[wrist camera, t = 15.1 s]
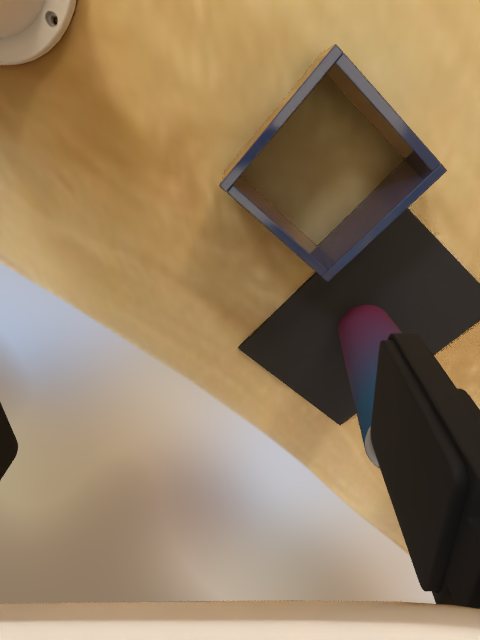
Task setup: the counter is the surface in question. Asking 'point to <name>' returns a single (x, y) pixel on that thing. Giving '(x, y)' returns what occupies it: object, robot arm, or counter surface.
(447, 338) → the mat
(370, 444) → the cup
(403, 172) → the holder
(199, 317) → the counter surface
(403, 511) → the robot arm
